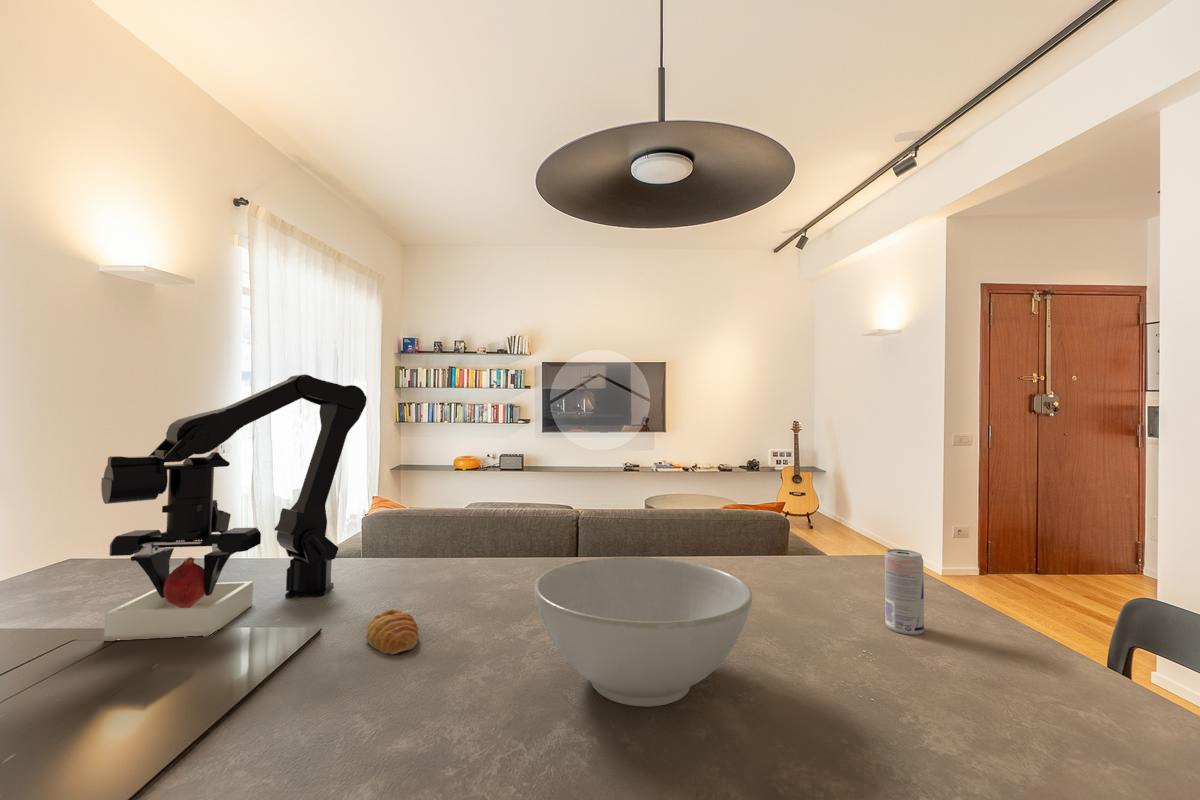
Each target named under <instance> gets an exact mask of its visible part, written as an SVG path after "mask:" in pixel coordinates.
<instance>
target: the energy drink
mask: <svg viewBox="0 0 1200 800" xmlns="http://www.w3.org/2000/svg"><path fill="white" fill-rule="evenodd" d="M924 583H925V582H924V558H923V557H922V553H920V552H917V551H913V550H909V549H902V548H892V549H891V548H890V549H889V548H888V549H887V550H886V552H885V554H884V599H885V600H884V601H885V603H884V604H885V606H884V609H885V611H884V613H885V616H884V617H885V618H884V619H885V625H886V627H887V628H888V629H889V630H890V631H892V632H895V633H898V634H902V635H908V636H920V635H921V634H923V633H924V632H925V605H924V604H925V599H924V598H925V597H924V595H925V590H924V588H925V587H924Z"/></svg>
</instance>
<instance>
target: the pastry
mask: <svg viewBox="0 0 1200 800" xmlns="http://www.w3.org/2000/svg"><path fill="white" fill-rule="evenodd" d="M365 637H366V639H367V640H366V641H367V642H368V643H369V645H370V646H371V647H372V648H374V649H375V650H377V651H379V652H380V653H383V654H385V655H386V654H390V655H395V654H396V655H397V654H399V653H401V652H404V651H405V652H406V651H410V650H413V649H414V647H415V646H416V645H417V643H418V641H419V640H418V639H419V626H418V623H417V622H416V621H415V618H414V617H413V615H411V614H410V613H405V612H402V611H401V610H400V609H399V610H398V609H387V610H384V611H383V612H381V613H380V614H376V615H375V617H374V618H373V619H371V621H370V622H369V624H368V626H367V628H366V634H365Z"/></svg>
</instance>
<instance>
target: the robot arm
mask: <svg viewBox="0 0 1200 800" xmlns="http://www.w3.org/2000/svg"><path fill="white" fill-rule="evenodd" d="M300 399H303V400H305V401H308V402H309V403H312V404H315V405H317V406H318V405H319V419H320V426H321V427H320V430H319V434H318V437H317V440H316V443H315V446H314V450H313V453H312V454H311V455H312V456H311V459H310V461H309V465H308V468H307V472H306V475H305V478H304V480H303V482H302V483H303V484H302V486H301V491H300V493H299V496H298V499H297V500H296V502H295V503H294V505H293V506H292V507H291V508H290V509H289V508H285V507H282V509H281V511H280V515H279V520H278V523H277V524H276V526H275V528H274V531H277V532H276V541H277V542H278V544H279V545H280V546H279V547H282V549H285V551H286V555H287V557H288V558H292V559H290V560H289V567H287V568H286V578H285V579H286V582H285V583H286V585H285V591H286V593H285V594H284V595H285V598H292V597H293V598H294V597H295V598H296V597H314V596H315V597H319V596H320V597H321V596H324V595H325V594H327V592H329V591H330V590H331V589H332V588H333V586H334V582H332V561H333V560H336V557H337V553H338V551H339V546H337V545H336V544H334V542H333V541H331V540H330V539H329V538H328V537H326V535H327V528H328V517H327V509H326V504H327V501H328V497H329V494H330V492H331V488H332V484H333V481H334V479H335V478H334V477H335V475H336V471H337V468H338V465H339V462H340V460H341V455H342V452H343V449H344V446H345V443H346V439H347V436H348V434H349V432H350V430H351V429H352V428H353V427H354V426H355V424H356V423H357V422H358V421H359V419H360V417H361V416H362V413H363V412H364V409H365V407H366V405H367V402H368V401H367V400H368V399H367V396H366V394H365V392H364V391H363V389H362V388H361V387H360V386H358V385H353V384H349V385H347V384H346V385H342V384H339V383H336V382H331V381H327V380H324V379H319V378H317V377H313V376H311V375H309V374H295V375H291V376H289V378H287V379H286V380H283V381H281V382H278V383H276V384H274V385H272V386H270V387H268V388H265V389H263V390H261V391H259V392H256V393H254V394H252V395H250V396H248V397H245V398H243V399H241V400H239V401H237V402H234V403H232V404H230V405H227V406H224V407H221V408H218V409H214V410H209V411H204V412H200V413H198V414H194V415H189V416H185V417H183V418H179V419H176V420H175V421H174V422H172V423H170V424H169V425H168V427H167V431H166V432H165V435H166V437H165V439H163V441H162V442H161V443H160V444H159V445H158V446H156V447H155V449H154V450H153V451H152V452H151V453H149V455H147V456H122V455H120V456H119V455H114V456H113V455H112V456H111V455H110V456H108V457H107V465H106V466H105V470H104V472H103V473H104V474H103V477H102V478H101V482H100V483H101V484H100V485H101V497H102V501H103V503H104V504H106V505H109V504H121V503H131V502H143V501H153V500H154V501H155V500H157V498H158V496H159V495H163V494H164V493H165V492H166V490H167V489H168V490H167V504H165V505H162V509H161V513H165V514H166V531H163V532H161V531H160V529H143V530H139V529H138V530H137V529H136V530H133V531H128V532H126V533H122V534H119V535H116V536H115V537H114V538H113V539H112V541H111V542H110V544H109V556H110V557H115V556H116V557H118V556H120V557H121V556H131V557H130V561H132V562H137V563H138V565H139V566H140V567H141V569H142V570H143V571H144V573H145V574H146V575H147V576H148V578H149V579H150V581H151V583H152V585H153V586H154V589H156V590H157V592H158V593H159V595H160V597H161V598H165V597H164V591H163V587H164V583H165V581H166V579H167V577H168V576H169V574H170V560H171V557H172V554H173V552H174V549H175V548H188V547H189V548H190V547H191V548H192V547H211V549H212V551H210V552H209V553H207V554H204V556H203V565H204V566H203V568H204V589H205V595H206V596H209V595H211V594H212V592H213V590H214V587H215V585H216V583H218V580H219V578H220V575H221V574H222V571H223V569H224V566H225V565H226V563H227V561H228V560H229V558H230V557H231V556H232V555H234V554H235V553H241V552H247V551H249V550H251V549H254V548H255V547H257V546H259V545H261V544H262V543H261V541H262V533H261V531H260V530H259V528H258V527H233V528H231V529H229V525H230V520H231V517H232V514H231V513H229V512H227V511H224V510H221V509H220V510H219V508H218V505H219V504H218V500H217V499H214V482H215V481H214V480H215V479H214V477H215V475H214V474H215V468H220V467H221V468H224V467H225V468H226V467H229V466H230V464H231V463H230V462H229V461H227V460H226V459H225V458H223V456H222V455H221V454H220V452H217V451H214V449H216V448H218V447H219V446H220V445H222V444H224V443H225V442H226V441H228V440H229V439H230V438H231V437H232V436H233V435H234V434H236V432H238V431H239V430H240V429H242V428H243V427H245V426H247V425H249V424H251V423H253V422H255V421H257V420H259V419H261V418H263V417H265V416H268V415H269V414H271V413H273V412H276V411H278V410H280V409H282V408H284V407H286V406H289V405H291V404H293V403H294V402H297V401H298V400H300ZM210 452H211V453H210ZM208 453H210V454H208ZM204 454H208V455H207V456H201V457H199V456H198V457H195V456H194V457H191V456H193V455H204ZM181 462H183V463H181ZM165 463H176V464H165ZM177 463H178V464H177ZM132 555H133V556H132Z"/></svg>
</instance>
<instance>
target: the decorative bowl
mask: <svg viewBox="0 0 1200 800" xmlns="http://www.w3.org/2000/svg"><path fill="white" fill-rule="evenodd" d="M533 590H534V599H535V602H536V605H537V610H538V612H539V615H540V619H541V620H542V624H543V626H544V628H545V630H546V632H547V634H548V637H549V638H550V640H551V641H552V643H553V645H554V646H555V648H556V649H557V651H558V653H559V654H560V655H561V656H562V658H564V660H565V661H566V662H567V663H568V664H569V666H571V667H572V668H573V669H574V670H575V671H576V672H578V674H580V675H581V676H583V677H584V678H585V679H587V681H588V680H589V681H590V682H591V684H592V685H591V686H592V687H593V689H594V690H595V691H596V692H597V694H599V695H601V696H602V697H604V698H606V699H608V700H610V701H613V702H615V703H619V704H622V705H627V706H630V707H631V706H632V707H644V708H645V707H658V706H659V707H660V706H665V705H669V704H671V703H675V702H677V701H679V700H682V699H683V698H684V697H685V696H687V694H688V693H689V691H690V689H691V687H693V686H694V685H697V684H698V683H700V682H701V681H704V680H705V679H706V678H707V677H709V676H710V675H711V674H712V673H713V672H715V671H716V670H717V669H718V668H719V666H721V664H722V663H723V662H724V661H725V660H726V658H728V656H729V655H730V653H731V652H732V651H733V649H734V647H735V645H736V644H737V643H738V640H739V639H740V636H741V635H742V633H743V630H744V628H745V626H746V623H747V620H748V617H749V615H750V611H751V608H752V601H753V593H752V590H751V588H750V586H749V585H748V584H747V583H746V582H745V581H743V580H742V579H741V578H740V577H737V576H735V575H734V574H732V573H729V572H727V571H724V570H722V569H719V568H715V567H713V566H709V565H706V564H701V563H697V562H691V561H686V560H679V559H672V558H663V557H649V556H611V557H609V556H608V557H598V558H590V559H584V560H578V561H573V562H569V563H565V564H561V565H559V566H556V567H554V568H551V569H549V570H547V571H545V572H544V573H543V574H541V575H539V576H538V578H537V580H535V582H534V586H533Z"/></svg>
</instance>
